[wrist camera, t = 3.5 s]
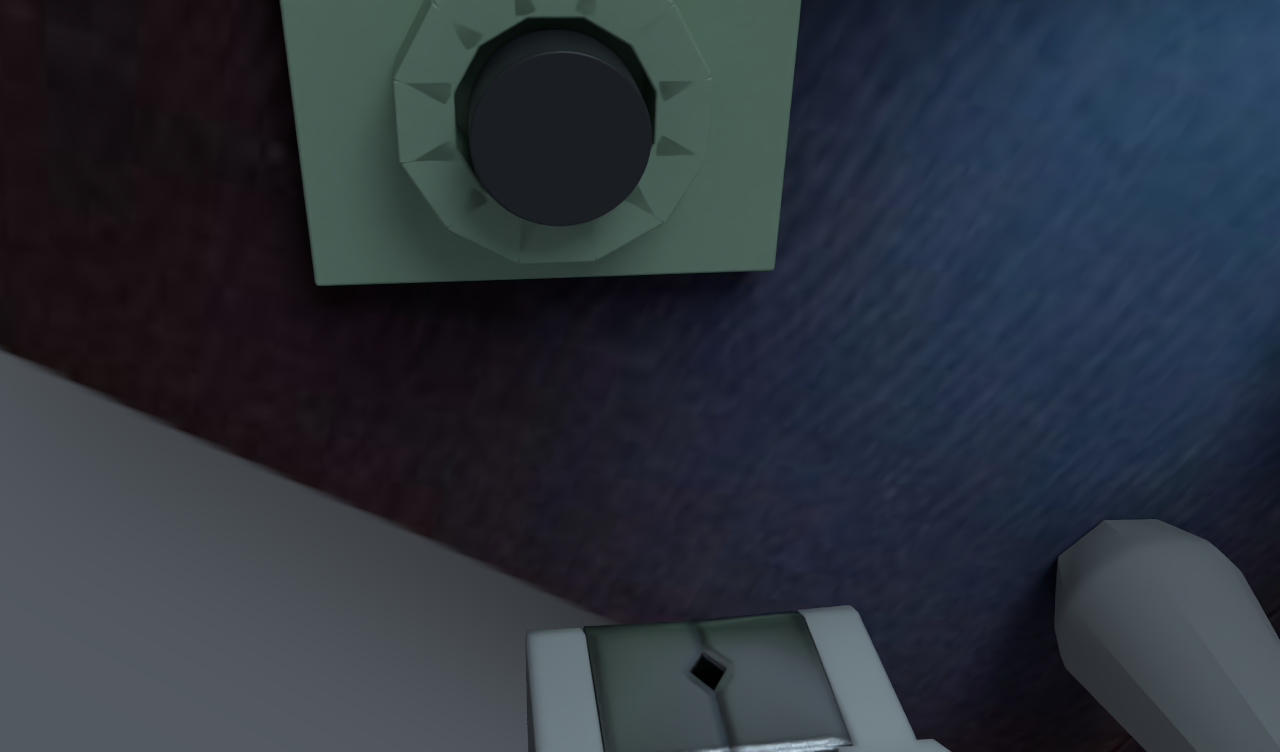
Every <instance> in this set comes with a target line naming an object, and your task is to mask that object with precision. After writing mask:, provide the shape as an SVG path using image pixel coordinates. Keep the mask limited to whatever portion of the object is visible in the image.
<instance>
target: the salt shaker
mask: <svg viewBox="0 0 1280 752" xmlns="http://www.w3.org/2000/svg"><path fill="white" fill-rule="evenodd" d="M1054 628H1055V632H1056V637H1057V642H1058V646H1059V651H1060V655H1061V658H1062V660H1063V663H1064V665H1065V668H1066V669H1067V670H1068V671H1069V672H1070V673H1071V674H1072V675H1073V676H1074V677H1075V678H1076V679H1077V680H1078V681H1079V682H1080V683H1081V684H1082V685H1083V686H1084V688H1085V689H1086V690H1087V691H1088V692H1089V693H1090V694H1091V695H1092V696H1093V697H1094V698H1095V699H1096V700H1097V701H1098V702H1099V703H1100V704H1101V705H1102V706H1103V707H1104V708H1105V709H1106V710H1107V711H1108V712H1109V713H1110V714H1111V715H1112V716H1113V717H1114V718H1115V719H1116V720H1117V721H1118V722H1119V723H1120V724H1121V726H1122V727H1123V728H1124V729H1125V730H1126V731H1127V732H1128V733H1129V734H1130V735H1131V736H1132V737H1133V738H1134V739H1135V740H1136V741H1137V742H1138V743H1139V744H1140V745H1141V746H1142V747H1143V748H1144V749H1145V750H1146V751H1147V752H1280V640H1279V638H1278V636H1277V634H1276V632H1275V631H1274V629H1273V627H1272V625H1271V624H1270V622H1269V620H1268V618H1267V616H1266V615H1265V613H1264V611H1263V609H1262V608H1261V606H1260V604H1259V602H1258V600H1257V599H1256V597H1255V595H1254V593H1253V592H1252V590H1251V588H1250V586H1249V584H1248V583H1247V581H1246V579H1245V577H1244V576H1243V574H1242V572H1241V571H1240V570H1239V569H1238V568H1237V567H1236V566H1235V565H1234V564H1233V563H1232V562H1231V561H1230V560H1229V559H1228V558H1227V557H1226V556H1225V555H1224V554H1223V553H1222V552H1220V551H1219V550H1218V549H1217V548H1216V547H1215V546H1213V545H1212V544H1211V543H1210V542H1208V541H1207V540H1205V539H1202V538H1200V537H1198V536H1195V535H1193V534H1191V533H1188V532H1186V531H1183V530H1181V529H1179V528H1176V527H1174V526H1172V525H1169V524H1167V523H1165V522H1162V521H1160V520H1158V519H1141V520H1104V521H1102V522H1101V523H1100V524H1099V525H1097V526H1096V527H1095V528H1094V529H1092V530H1091V531H1090V532H1089V533H1087V534H1086V535H1085V536H1084V537H1082V538H1081V539H1080V540H1079V541H1077V542H1076V543H1075V544H1074V545H1072V546H1071V547H1070V548H1069V549H1067V550H1066V551H1065V552H1064V553H1062V554H1061V555H1060V556H1058V564H1057V578H1056V592H1055V620H1054Z"/></svg>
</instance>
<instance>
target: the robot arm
mask: <svg viewBox="0 0 1280 752" xmlns="http://www.w3.org/2000/svg"><path fill="white" fill-rule="evenodd" d="M526 684H527V725H528V752H951V751H949V750H948V749H947V748H945V747H944V746H942V745H941V744H940V743H938V742H937V741H935V740H934V739H925V740H917V739H916V737H915V735H914V733H913V730H912V728H911V726H910V724H909V722H908V720H907V717H906V715H905V713H904V711H903V709H902V707H901V704H900V702H899V700H898V698H897V696H896V694H895V691H894V689H893V687H892V685H891V683H890V681H889V678H888V676H887V674H886V672H885V670H884V668H883V665H882V663H881V661H880V659H879V657H878V655H877V652H876V650H875V648H874V646H873V644H872V642H871V639H870V637H869V635H868V633H867V631H866V629H865V626H864V624H863V622H862V620H861V618H860V616H859V613H858V612H857V611H856V610H855V609H854V608H852V607H851V606H850V605H846V606H835V607H825V608H814V609H804V610H797V611H796V612H793V611H787V612H776V613H765V614H753V615H742V616H731V617H719V618H708V619H697V620H689V621H673V622H655V623H637V624H619V625H602V626H584V629H583V630H582V628H571V629H551V630H532V631H527V633H526Z"/></svg>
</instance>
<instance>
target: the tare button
mask: <svg viewBox="0 0 1280 752" xmlns="http://www.w3.org/2000/svg"><path fill="white" fill-rule="evenodd" d="M468 132H469V147H470V155H471V159H472V163H473V166H474V169H475V171H476V174H477V176H478V178H479V180H480V182H481V183H482V185H483V187H484V188H485V189H486V191H487V192H488V193H489V195H490V196H491V197H492V198H493V199H494V200H495V201H496V202H497V203H498V204H499V205H501V206H502V207H503V208H505V209H506V210H507V211H509V212H511V213H512V214H514V215H516V216H518V217H520V218H522V219H525V220H527V221H530V222H533V223H537V224H542V225H548V226H570V225H577V224H582V223H586V222H589V221H591V220H594V219H597V218H599V217H601V216H603V215H605V214H607V213H608V212H610V211H611V210H613V209H614V208H616V207H617V206H618V205H619V204H621V203H622V202H623V201H624V200H625V199H626V198H627V197H628V196H629V195H630V194H631V193H632V191H633V190H634V189H635V187H636V186H637V184H638V183H639V181H640V179H641V177H642V176H643V174H644V172H645V169H646V166H647V164H648V161H649V156H650V152H651V144H652V128H651V122H650V116H649V113H648V110H647V107H646V104H645V102H644V100H643V98H642V96H641V94H640V91H639V89H638V87H637V85H636V83H635V81H634V79H633V77H632V75H631V72H630V71H629V69H628V68H627V66H626V64H625V63H624V62H623V60H622V59H621V58H620V57H619V56H618V55H617V53H615V52H614V51H613V50H612V49H611V48H610V47H609V46H607V45H606V44H604V43H603V42H601V41H600V40H598V39H596V38H594V37H592V36H590V35H588V34H585V33H582V32H579V31H576V30H571V29H565V28H545V29H539V30H534V31H530V32H527V33H524V34H521V35H519V36H517V37H515V38H513V39H511V40H509V41H508V42H506V43H505V44H503V45H502V46H501V47H499V48H498V49H497V50H496V51H495V52H494V53H493V54H492V55H491V56H490V57H489V58H488V59H487V60H486V62H485V63H484V64H483V66H482V67H481V69H480V71H479V72H478V74H477V76H476V78H475V80H474V83H473V85H472V89H471V92H470V96H469V103H468Z"/></svg>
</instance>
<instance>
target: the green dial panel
mask: <svg viewBox="0 0 1280 752" xmlns="http://www.w3.org/2000/svg"><path fill="white" fill-rule="evenodd" d="M280 8H281V16H282V24H283V32H284V40H285V48H286V56H287V64H288V72H289V80H290V88H291V96H292V104H293V112H294V120H295V127H296V135H297V143H298V151H299V159H300V167H301V175H302V183H303V191H304V199H305V207H306V215H307V223H308V231H309V239H310V247H311V254H312V262H313V270H314V278H315V283H316V285H318V286H332V285H361V284H390V283H419V282H449V281H478V280H507V279H536V278H565V277H594V276H623V275H653V274H682V273H711V272H740V271H769V270H773V269H774V267H775V257H776V247H777V237H778V227H779V217H780V207H781V197H782V187H783V177H784V167H785V157H786V147H787V137H788V127H789V117H790V107H791V97H792V87H793V77H794V67H795V58H796V48H797V38H798V28H799V18H800V8H801V0H280ZM545 28H565V29H571V30H576V31H579V32H582V33H585V34H588V35H590V36H592V37H594V38H596V39H598V40H600V41H601V42H603V43H604V44H606V45H607V46H609V47H610V48H611V49H612V50H613V51H614V52H615V53H617V55H618V56H619V57H620V58H621V59H622V60H623V62H624V63H625V64H626V66H627V68H628V69H629V71H630V72H631V75H632V77H633V79H634V81H635V83H636V85H637V87H638V89H639V91H640V94H641V96H642V98H643V100H644V102H645V104H646V107H647V110H648V113H649V116H650V122H651V128H652V144H651V152H650V156H649V161H648V164H647V166H646V169H645V172H644V174H643V176H642V177H641V179H640V181H639V183H638V184H637V186H636V187H635V189H634V190H633V191H632V193H631V194H630V195H629V196H628V197H627V198H626V199H625V200H624V201H623V202H622V203H621V204H619V205H618V206H617V207H616V208H614V209H613V210H611V211H610V212H608V213H607V214H605V215H603V216H601V217H599V218H597V219H594V220H591V221H589V222H586V223H582V224H577V225H570V226H548V225H542V224H537V223H533V222H530V221H527V220H525V219H522V218H520V217H518V216H516V215H514V214H512V213H511V212H509V211H507V210H506V209H505V208H503V207H502V206H501V205H499V204H498V203H497V202H496V201H495V200H494V199H493V198H492V197H491V196H490V195H489V193H488V192H487V191H486V189H485V188H484V187H483V185H482V183H481V182H480V180H479V178H478V176H477V174H476V171H475V169H474V166H473V163H472V159H471V155H470V147H469V132H468V103H469V96H470V92H471V89H472V85H473V83H474V80H475V78H476V76H477V74H478V72H479V71H480V69H481V67H482V66H483V64H484V63H485V62H486V60H487V59H488V58H489V57H490V56H491V55H492V54H493V53H494V52H495V51H496V50H497V49H498V48H499V47H501V46H502V45H503V44H505V43H506V42H508V41H509V40H511V39H513V38H515V37H517V36H519V35H521V34H524V33H527V32H530V31H534V30H539V29H545Z"/></svg>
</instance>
